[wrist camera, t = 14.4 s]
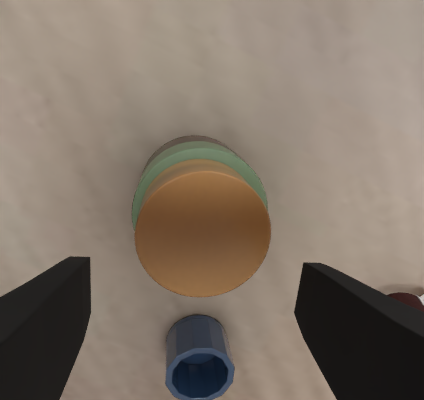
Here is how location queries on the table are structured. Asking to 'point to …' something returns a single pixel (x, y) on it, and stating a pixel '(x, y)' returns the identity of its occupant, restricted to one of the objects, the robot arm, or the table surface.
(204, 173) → the orange short cylinder
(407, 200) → the table surface
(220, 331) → the small cup
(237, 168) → the sage chip
